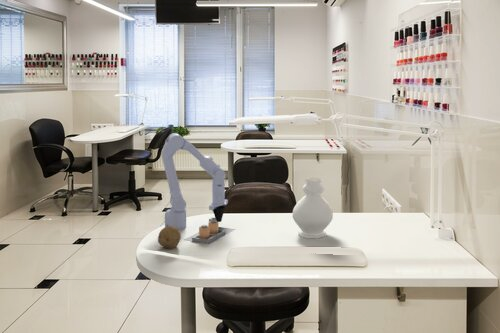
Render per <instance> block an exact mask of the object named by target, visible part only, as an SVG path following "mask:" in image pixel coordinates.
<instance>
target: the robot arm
mask: <svg viewBox="0 0 500 333" xmlns="http://www.w3.org/2000/svg"><path fill="white" fill-rule="evenodd" d="M179 150H183V151H188V153H190V154H191V155H192V156H193V157H194V158H196V159H197V160H198V162H199V166H200V167H201V168H202V169H203V170H204V171H205V172H206V173H207V174H208V175H210V177H211V178H212V182H211V183H212V194H211V195H212V202H211V204H210V205H208V210H210V211H212V213H213V214H214V218H216V222H218V223H221V222H222V220H223V216H224V213H225V210H226V209H227V204H228V203H229V200H228V199H225V198H226V195H225V194H226V190H225V189H226V188H225V179H226V177H227V174H226V172H225V170H224V169H222V168H221V165H220V164H217V163H216V162H215V161H214V159H213V158H212V156H208V155H204V154H202V152H200V150H198V149H197V148H196V146H194V145H193V144H192V143H191V142H190V141H189V140H188V139H186V138H184V137H183V136H181V134H179V133H176V132H174V133H170V134H169V135H168V137H167V138H166V139H165V142H164V145H163V148H162V150H161V153H160V154H161V159H162V163H163V167H164V171H165V172H164V173H165V175H166V180H167V183H168V189H169V194H170V199H169V204H170V206H171V207H170V209H167V210H166V211H165V213H164V228H165V227H167V226H174V227H176V228H177V229H178V230H182V229H186V228H187V209H186V207H187V202H186V200H185V199H184V197H183V194H182V191H181V186H180V183H179V179H178V175H177V174H178V173H177V171H176V167H175V161H174V155H175V154H176V153H177V152H178V151H179Z"/></svg>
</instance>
